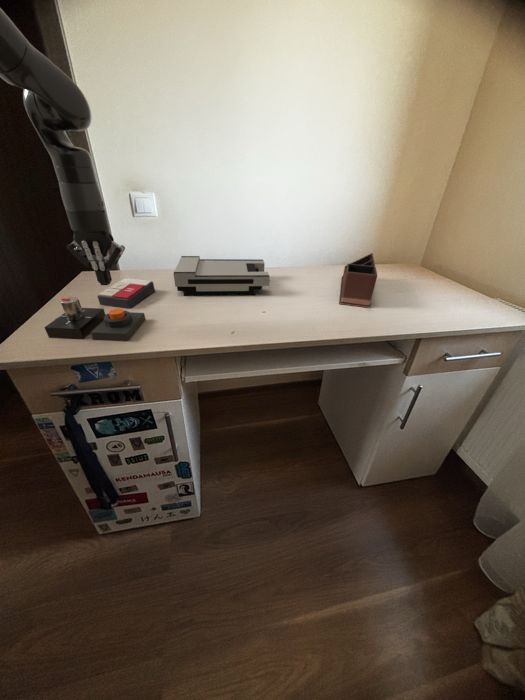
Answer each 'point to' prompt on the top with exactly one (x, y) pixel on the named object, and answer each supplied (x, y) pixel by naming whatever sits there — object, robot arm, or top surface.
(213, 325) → the top surface
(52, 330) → the dial panel
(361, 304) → the desk organizer
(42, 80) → the robot arm
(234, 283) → the game console
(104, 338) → the button block
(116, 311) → the button
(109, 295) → the calculator
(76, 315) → the dial
